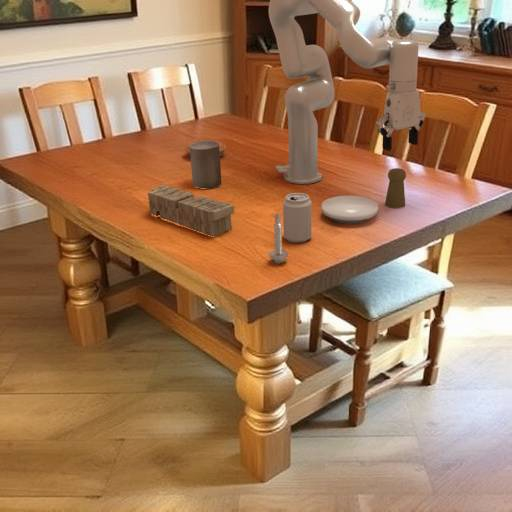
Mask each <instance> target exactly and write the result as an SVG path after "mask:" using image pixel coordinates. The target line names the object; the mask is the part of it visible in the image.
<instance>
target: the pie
mask: <svg viewBox="0 0 512 512" xmlns="http://www.w3.org/2000/svg"><path fill="white" fill-rule="evenodd" d="M200 141H201V140H198V141H196V142H200ZM205 141H209V140H205ZM214 141H215V142H218V143H219V151H220V156H221V157H222V155H223V154H224V152H225V150H226V149H227V145H226V144H225V143H222V142H221V141H218V140H214ZM192 143H193V142H191V143H190V144H189V145H191V144H192ZM189 145H187V146H184V150H185V152H186V153H187V154H188V156H190V147H189Z"/></svg>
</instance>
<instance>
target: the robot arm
mask: <svg viewBox="0 0 512 512" xmlns="http://www.w3.org/2000/svg"><path fill="white" fill-rule="evenodd" d="M312 14H320V16H321V17H323V19H325V20H326V22H327V23H329V24H330V25H331V26H332V27H333V28H334V29H335V30H336V32H337V39H338V42H339V45H340V47H341V49H342V50H343V52H344V53H345V55H347V57H349V58H350V59H351V60H352V61H353V62H354V63H355V64H356V65H358V66H359V67H361V68H363V69H372V68H376V67H382V66H386V65H387V66H389V73H388V84H386V89H387V90H388V91H387V93H386V96H385V97H386V98H385V101H384V108H383V109H384V110H383V116H381V117H380V118H379V119H378V120H377V121H375V125H376V128H377V132H378V133H379V134H380V135H381V136H382V145H381V146H382V150H386V151H389V152H390V151H392V141H393V137H392V134H393V132H394V131H399V130H404V129H408V128H410V129H408V140H407V141H408V144H410V145H411V144H412V145H414V146H417V145H418V141H419V131H420V130H421V127H422V125H423V124H424V121H425V118H426V116H427V113H425V112H423V111H422V110H421V99H420V98H421V97H420V92H419V90H418V89H417V84H418V83H417V81H418V80H417V79H418V64H419V63H418V62H419V42H418V41H417V40H416V39H409V38H405V39H403V38H402V39H400V38H396V37H392V36H382V37H376V38H371V39H368V38H367V37H365V35H363V33H361V32H360V31H359V30H358V28H357V27H356V25H357V24H358V22H359V20H360V17H361V10H360V8H359V7H358V6H357V5H356V4H355V3H354V2H353V1H352V0H269V5H268V17H269V21H270V24H271V27H272V30H273V33H274V36H275V39H276V44H277V50H278V54H279V59H280V63H281V66H282V70H283V73H284V75H285V77H287V78H288V79H291V80H296V79H297V80H298V79H303V78H307V80H305V81H303V82H302V81H301V82H298V83H294V84H293V85H291V86H290V87H289V88H288V89H287V90H286V92H285V95H284V102H285V103H284V104H285V108H286V112H287V113H286V114H287V123H288V125H287V126H288V129H287V130H288V163H287V164H285V165H276V166H275V171H276V172H278V174H284V180H285V181H286V182H287V183H292V184H295V185H296V184H297V185H308V184H310V185H311V184H313V183H314V184H315V183H318V182H320V181H321V180H322V179H323V174H322V173H321V172H320V171H318V164H319V162H318V154H319V153H318V152H319V151H318V149H319V147H318V145H319V144H318V140H319V139H318V138H319V137H318V135H319V134H318V131H319V130H318V129H319V127H318V125H319V124H318V120H317V118H316V117H315V114H314V112H315V111H317V110H322V109H325V108H328V107H329V106H331V105H332V103H333V102H334V100H335V93H336V92H335V86H334V81H333V76H332V71H331V66H330V63H329V58H328V54H327V53H326V52H325V50H324V49H323V48H322V47H321V46H319V45H317V44H309V45H308V44H307V45H306V42H305V41H306V40H305V37H304V33H303V30H302V27H301V26H300V24H299V23H298V22H297V20H296V19H295V17H298V16H306V15H312Z"/></svg>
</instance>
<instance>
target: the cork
mask: <svg viewBox="0 0 512 512" xmlns="http://www.w3.org/2000/svg"><path fill="white" fill-rule="evenodd" d="M406 177H407V173H406V171H405V170H404V169H402V168H399V167H397V168H396V167H395V168H392V169H391V168H390V169H389V171H388V173H387V178H388V180H389V181H388V185H387V192H386V196H385V197H386V198H385V202H384V206H385V207H387V208H389V209H390V208H391V209H401V208H404V207H406V195H405V182H404V181H405V180H406V179H407V178H406Z"/></svg>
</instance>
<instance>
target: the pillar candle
mask: <svg viewBox="0 0 512 512" xmlns="http://www.w3.org/2000/svg"><path fill="white" fill-rule="evenodd" d="M199 141H200V142H197V141H194V142H191V143H192V144H191V143H190V144H191V145H190V144H189V145H188V146H189V147H190V155H189V156H190V166H191V180H192V185H194V186H196V187H199V188H212V189H215V188H214V187H217V186H219V185H221V183H222V182H223V181H222V172H221V171H222V169H221V157H220V151H219V143H218V142H219V141H218V142H215V141H216V140H208V141H206V140H199ZM222 184H223V183H222ZM194 186H193V187H194ZM221 186H222V185H221ZM219 187H220V186H219ZM217 188H218V187H217Z"/></svg>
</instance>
